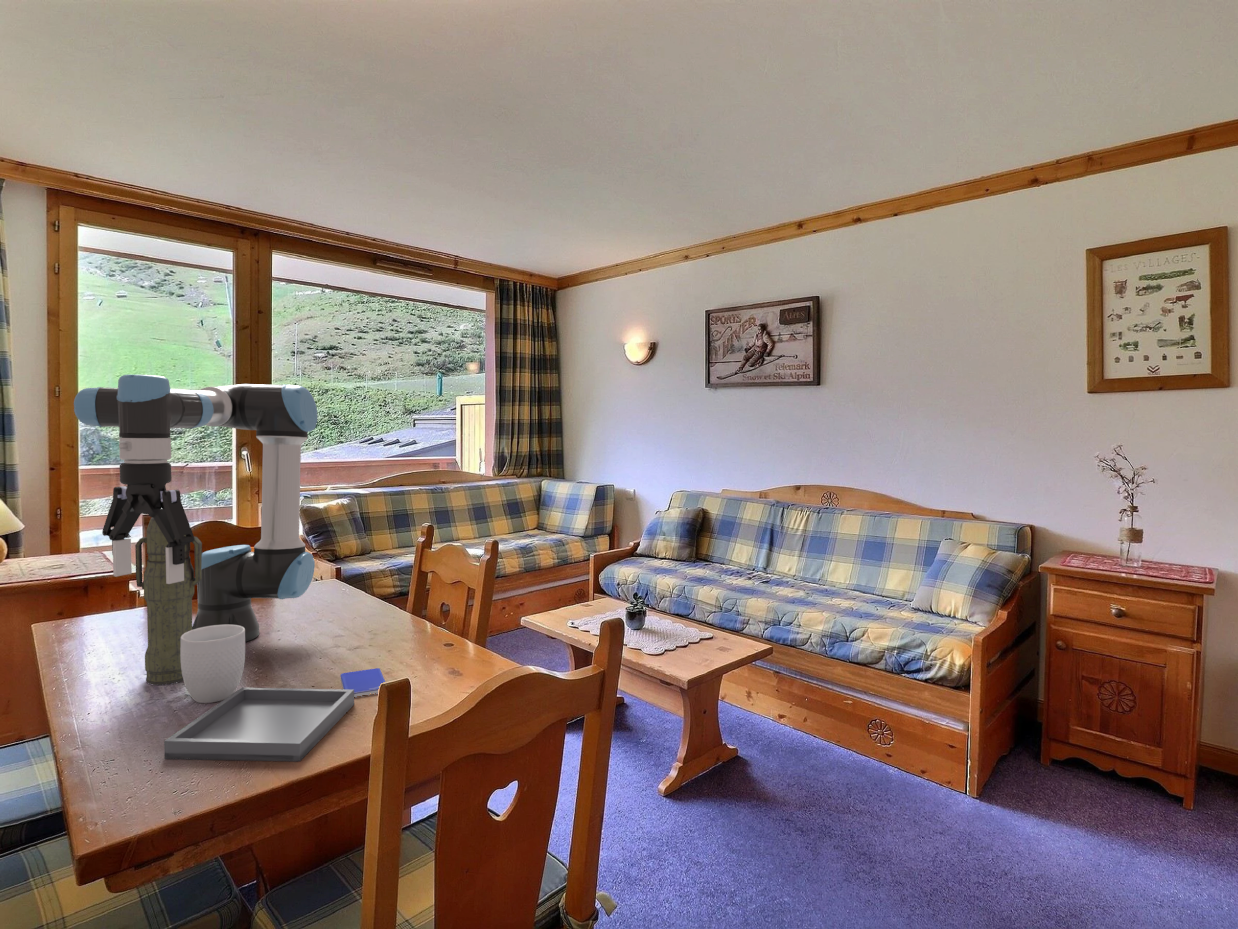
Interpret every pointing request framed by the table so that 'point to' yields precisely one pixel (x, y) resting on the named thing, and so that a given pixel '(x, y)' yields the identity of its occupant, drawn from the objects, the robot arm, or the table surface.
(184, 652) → the mug
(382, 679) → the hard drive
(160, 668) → the thermos
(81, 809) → the table surface
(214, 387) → the robot arm
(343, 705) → the tray
